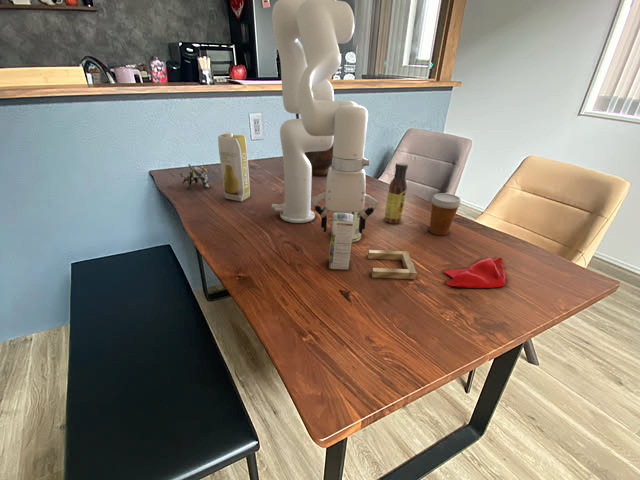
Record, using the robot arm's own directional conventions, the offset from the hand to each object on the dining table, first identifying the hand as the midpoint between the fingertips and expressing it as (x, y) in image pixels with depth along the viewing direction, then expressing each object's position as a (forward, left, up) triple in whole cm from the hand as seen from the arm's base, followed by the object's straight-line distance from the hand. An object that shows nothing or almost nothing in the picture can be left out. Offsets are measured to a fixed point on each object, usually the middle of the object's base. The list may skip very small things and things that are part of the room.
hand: (342, 230), depth 99 cm
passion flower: (-58, +62, -11) cm, 86 cm away
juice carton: (-39, +52, -11) cm, 66 cm away
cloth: (+41, -3, -11) cm, 42 cm away
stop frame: (+15, 0, -11) cm, 18 cm away
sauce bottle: (+21, +35, -11) cm, 43 cm away
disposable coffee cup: (+36, +27, -11) cm, 46 cm away
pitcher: (-8, +91, -11) cm, 92 cm away
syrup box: (0, 0, -11) cm, 11 cm away
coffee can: (+3, +20, -11) cm, 23 cm away
